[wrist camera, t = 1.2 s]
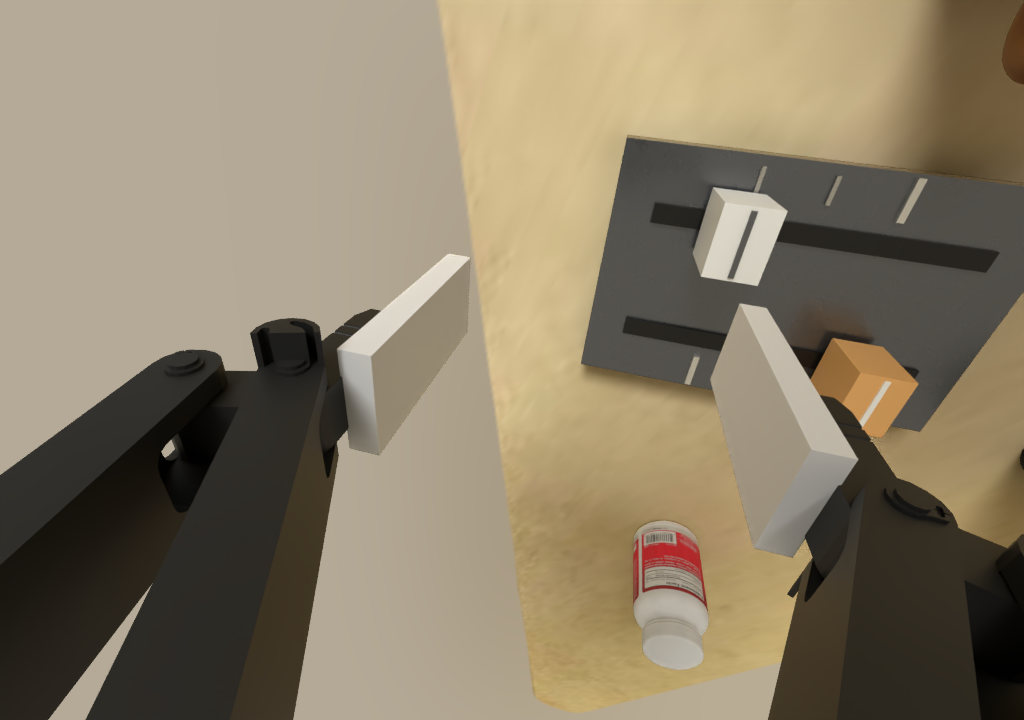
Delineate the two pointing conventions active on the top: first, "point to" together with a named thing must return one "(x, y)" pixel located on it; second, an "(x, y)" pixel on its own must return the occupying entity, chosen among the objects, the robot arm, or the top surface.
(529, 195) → the top surface
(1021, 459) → the cup
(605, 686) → the top surface
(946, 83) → the top surface
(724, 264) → the fader
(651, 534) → the pill bottle
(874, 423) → the fader
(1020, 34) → the mug
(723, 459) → the top surface
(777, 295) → the console
